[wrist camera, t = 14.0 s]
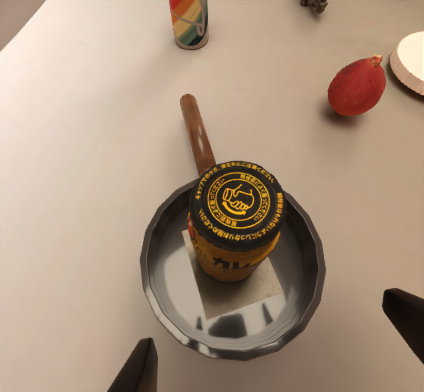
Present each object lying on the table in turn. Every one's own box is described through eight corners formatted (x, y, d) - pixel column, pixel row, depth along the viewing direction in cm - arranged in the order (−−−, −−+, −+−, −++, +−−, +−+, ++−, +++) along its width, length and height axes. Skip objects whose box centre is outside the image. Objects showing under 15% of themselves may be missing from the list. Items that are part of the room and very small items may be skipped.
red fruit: (311, 117, 31) (340, 59, 24) (327, 92, 33) (358, 32, 26) (354, 136, 29) (398, 80, 22) (368, 108, 31) (413, 49, 24)
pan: (336, 322, 20) (361, 325, 17) (165, 374, 19) (153, 389, 15) (273, 178, 27) (282, 158, 23) (144, 209, 25) (132, 192, 22)
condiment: (247, 210, 24) (271, 134, 14) (282, 292, 21) (352, 274, 10) (181, 231, 24) (152, 167, 13) (206, 320, 20) (194, 334, 9)
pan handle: (220, 184, 24) (220, 174, 22) (201, 188, 24) (200, 178, 22) (195, 102, 29) (193, 88, 27) (179, 105, 29) (177, 91, 27)
